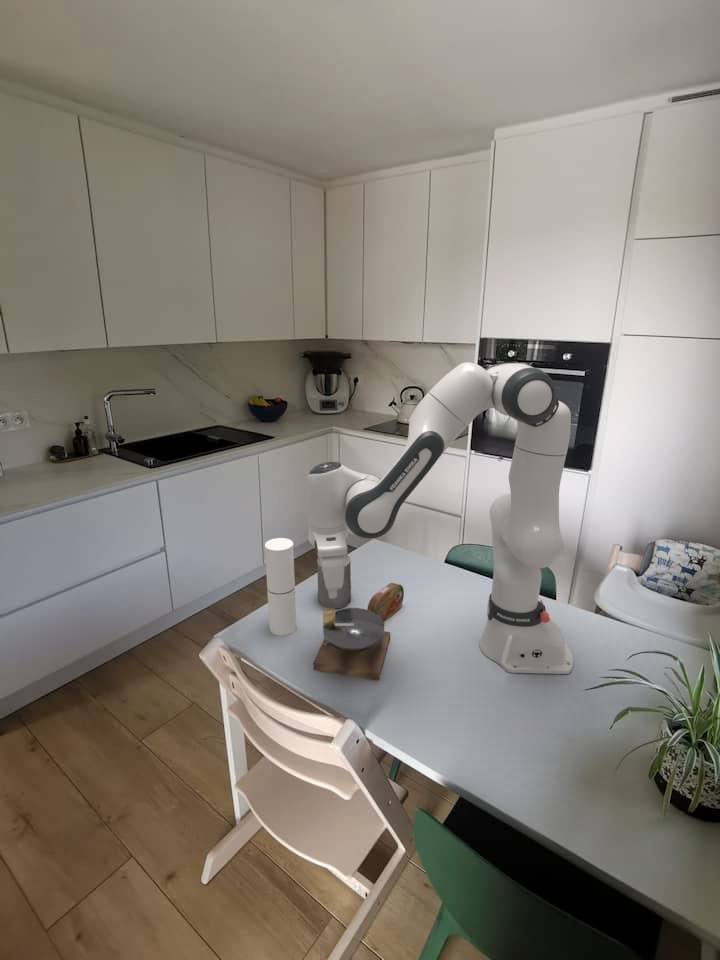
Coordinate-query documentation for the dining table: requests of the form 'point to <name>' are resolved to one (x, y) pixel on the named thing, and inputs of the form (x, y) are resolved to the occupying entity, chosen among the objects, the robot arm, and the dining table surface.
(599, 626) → the dining table surface
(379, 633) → the dark grey round piece
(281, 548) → the cylindrical container
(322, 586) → the pillar candle
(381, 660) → the brown square flat block
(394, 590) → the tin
